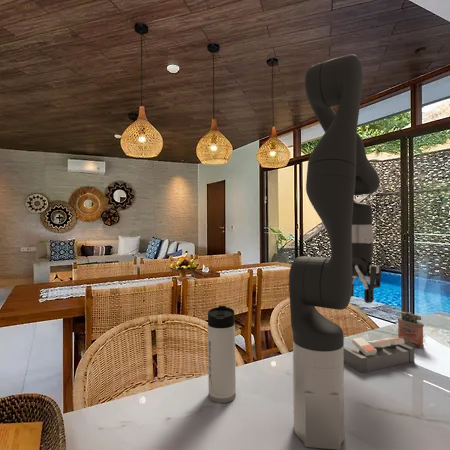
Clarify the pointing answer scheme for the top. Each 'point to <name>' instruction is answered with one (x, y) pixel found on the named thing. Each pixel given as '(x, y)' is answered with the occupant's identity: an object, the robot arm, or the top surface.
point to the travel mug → (221, 354)
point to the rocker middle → (379, 343)
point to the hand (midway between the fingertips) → (358, 299)
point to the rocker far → (394, 340)
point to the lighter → (411, 330)
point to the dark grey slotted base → (379, 357)
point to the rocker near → (364, 346)
